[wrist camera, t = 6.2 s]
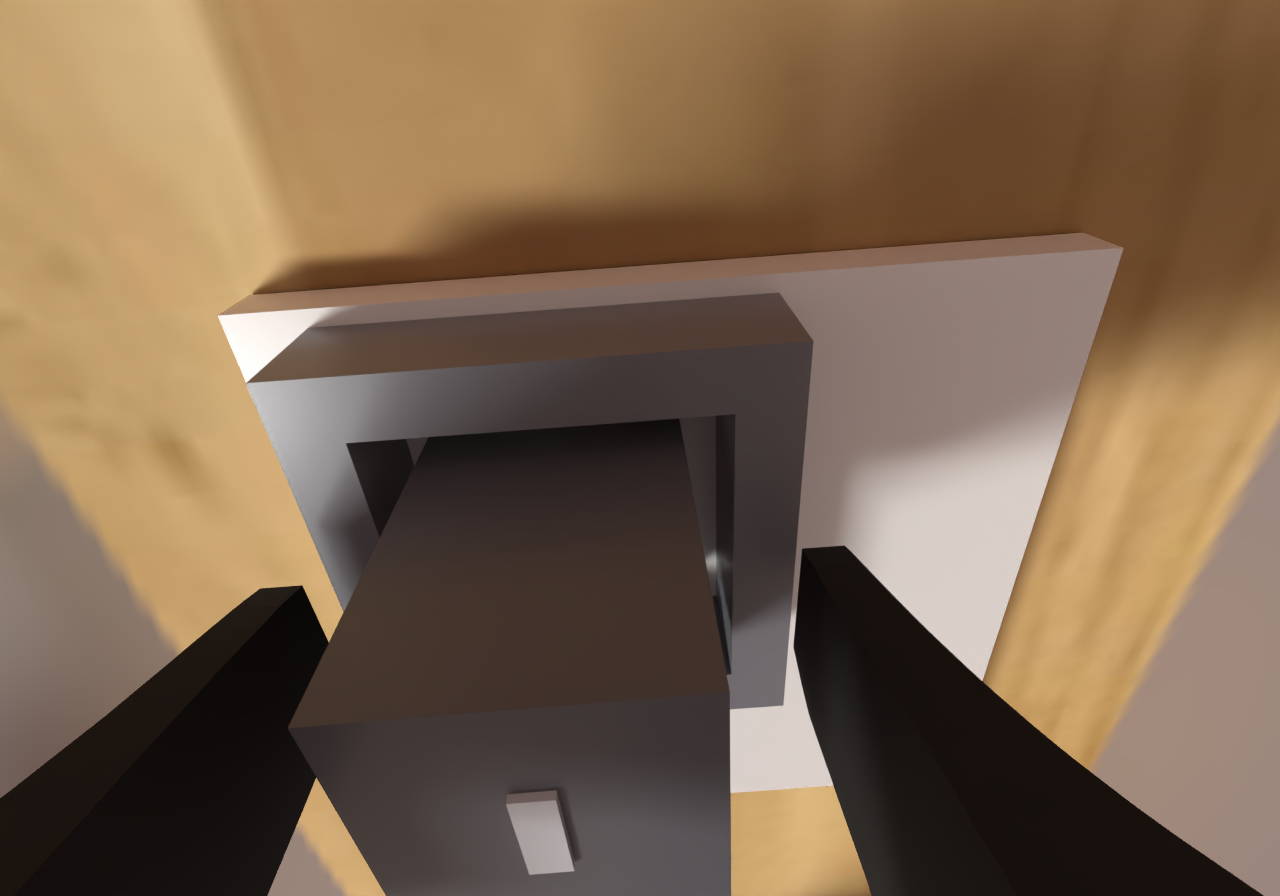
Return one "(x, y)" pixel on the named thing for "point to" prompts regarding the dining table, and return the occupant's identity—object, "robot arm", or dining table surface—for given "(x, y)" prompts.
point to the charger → (532, 675)
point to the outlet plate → (723, 421)
